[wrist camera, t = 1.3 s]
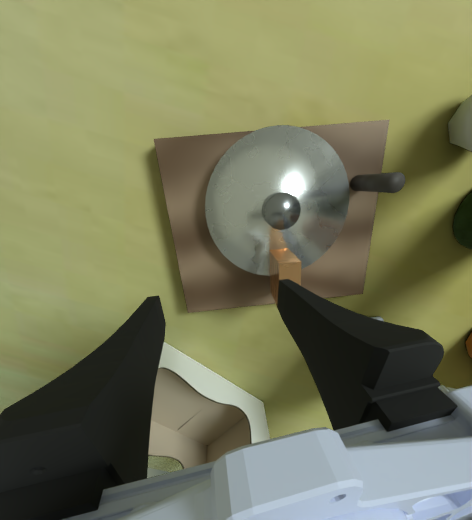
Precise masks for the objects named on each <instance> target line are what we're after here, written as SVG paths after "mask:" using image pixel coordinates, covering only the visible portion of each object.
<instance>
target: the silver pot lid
mask: <svg viewBox="0 0 472 520" xmlns="http://www.w3.org/2000/svg"><path fill="white" fill-rule="evenodd" d="M349 194H350V193H349V182H348V178H347V173H346V171H345V168H344V165H343V163H342V161H341V159H340V158H339V156H338V154H337V153H336V152H335V150H334V149H333V148H332V147H331V146H330V145H329V144H328V143H327V142H326V141H325V140H324V139H322V138H321V137H320V136H318V135H317V134H315V133H313V132H311V131H309V130H306V129H303V128H300V127H295V126H289V125H277V126H271V127H265V128H262V129H259V130H256V131H254V132H252V133H250V134H248V135H246V136H244V137H243V138H241V139H240V140H238V141H237V142H236V143H235V144H234V145H232V146H231V147H230V148H229V149H228V150H227V151H226V153H225V154H224V155H223V156H222V157H221V159H220V160H219V162H218V164H217V165H216V167H215V169H214V171H213V173H212V175H211V178H210V181H209V184H208V187H207V192H206V199H205V213H206V220H207V225H208V229H209V232H210V234H211V237H212V239H213V241H214V243H215V244H216V246H217V247H218V249H219V250H220V251H221V253H222V254H223V255H224V256H225V257H226V258H227V259H228V260H229V261H231V262H232V263H233V264H235V265H236V266H238V267H239V268H241V269H243V270H245V271H248V272H251V273H254V274H259V275H266V276H270V291H271V294H272V296H273V299H274V301H275V303H276V305H277V302H278V288H279V280H283V279H290V280H292V281H294V282H295V283H297V284H299V285H300V286H301V269H303V268H305V267H307V266H309V265H311V264H312V263H314V262H315V261H316V260H318V259H319V258H320V257H321V256H322V255H323V254H325V253H326V251H327V250H328V249H329V248H330V247H331V246H332V244H333V243H334V242H335V240H336V239H337V237H338V235H339V233H340V232H341V230H342V227H343V225H344V223H345V219H346V216H347V213H348V207H349ZM277 308H278V307H277Z"/></svg>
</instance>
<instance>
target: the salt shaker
mask: <svg viewBox="0 0 472 520" xmlns="http://www.w3.org/2000/svg"><path fill="white" fill-rule="evenodd" d="M448 128H449V139H450V143H452V144H455V145H458V146H460V147H463V148H465V149H467V150H469V151H471V152H472V95H471V96H470V97H468V98H467V99H466V100H465V101H463V102H462V103H461V105H460V106H459V108H458V109H457V111H456V112H455V114H454V115H453V117H452V118H451V120H450V121H449V123H448Z"/></svg>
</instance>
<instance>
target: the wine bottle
mask: <svg viewBox="0 0 472 520" xmlns="http://www.w3.org/2000/svg"><path fill="white" fill-rule="evenodd" d="M453 230H454V235H455V238H456V239H457V240H458V242H459V243H460V244H461V245H463V246H465V247H467V248H469V249H472V192H471V193H470V194H469V195H467V197H466V198H465V199H464V201H463V202H462V203H461V205H460V206H459V208H458V210H457V213H456V215H455V217H454V224H453Z"/></svg>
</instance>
